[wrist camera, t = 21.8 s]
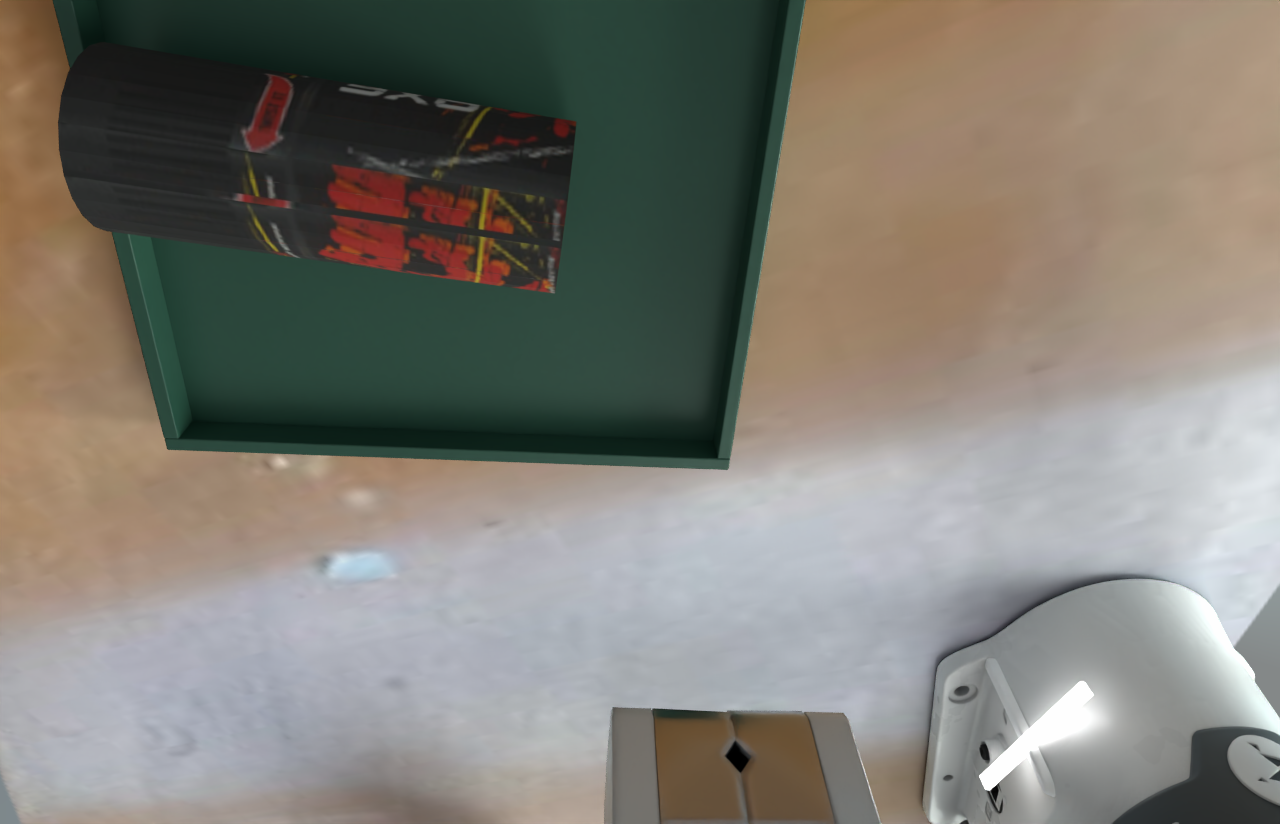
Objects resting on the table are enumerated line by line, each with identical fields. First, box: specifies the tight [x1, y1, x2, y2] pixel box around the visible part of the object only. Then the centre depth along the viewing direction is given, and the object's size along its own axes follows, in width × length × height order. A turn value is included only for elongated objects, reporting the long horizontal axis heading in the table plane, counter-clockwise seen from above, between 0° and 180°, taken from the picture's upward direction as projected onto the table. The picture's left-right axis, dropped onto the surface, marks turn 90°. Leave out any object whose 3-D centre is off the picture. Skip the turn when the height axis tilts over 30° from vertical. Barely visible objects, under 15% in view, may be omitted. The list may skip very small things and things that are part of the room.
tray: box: [53, 0, 806, 470], centre depth 31 cm, size 23×24×2 cm
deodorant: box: [58, 42, 576, 293], centre depth 28 cm, size 6×6×15 cm
